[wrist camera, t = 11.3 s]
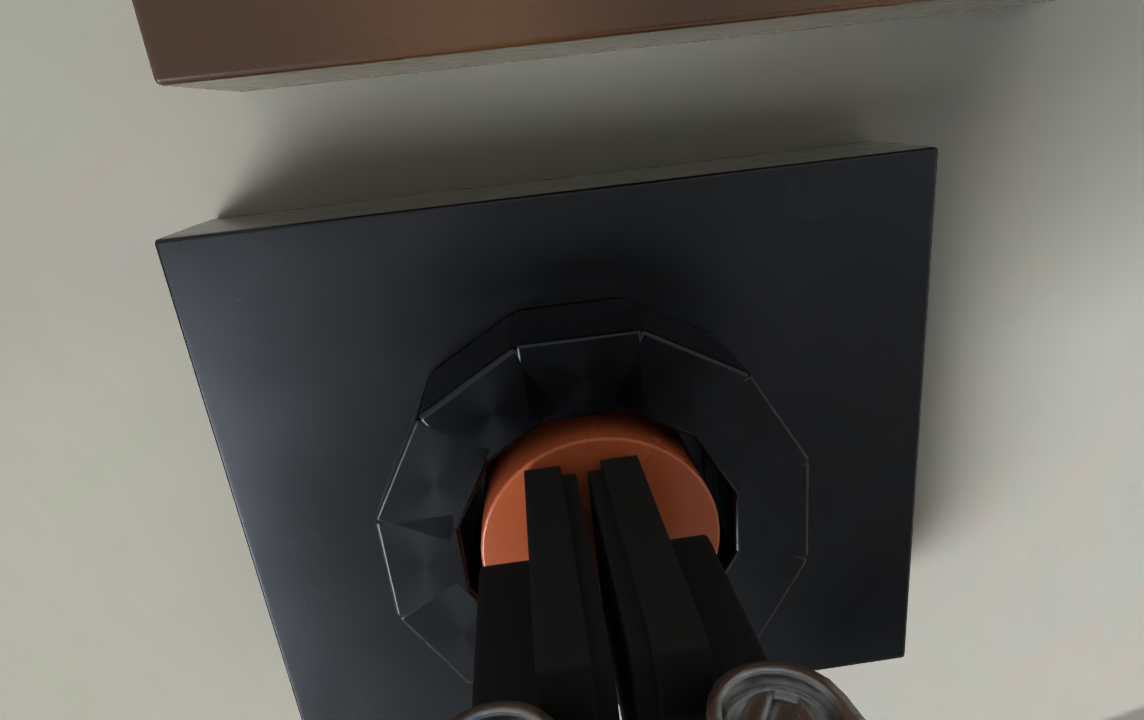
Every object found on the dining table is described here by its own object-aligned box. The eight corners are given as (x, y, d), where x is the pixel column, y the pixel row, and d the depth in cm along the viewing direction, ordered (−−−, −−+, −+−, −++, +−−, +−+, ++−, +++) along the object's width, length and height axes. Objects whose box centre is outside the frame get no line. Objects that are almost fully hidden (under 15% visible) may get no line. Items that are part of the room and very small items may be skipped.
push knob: (686, 378, 12) (716, 421, 10) (697, 561, 13) (724, 627, 11) (469, 406, 11) (462, 456, 10) (500, 589, 13) (499, 660, 11)
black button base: (871, 141, 13) (1019, 152, 9) (855, 588, 16) (958, 731, 13) (211, 219, 12) (82, 265, 9) (335, 665, 16) (281, 838, 12)
